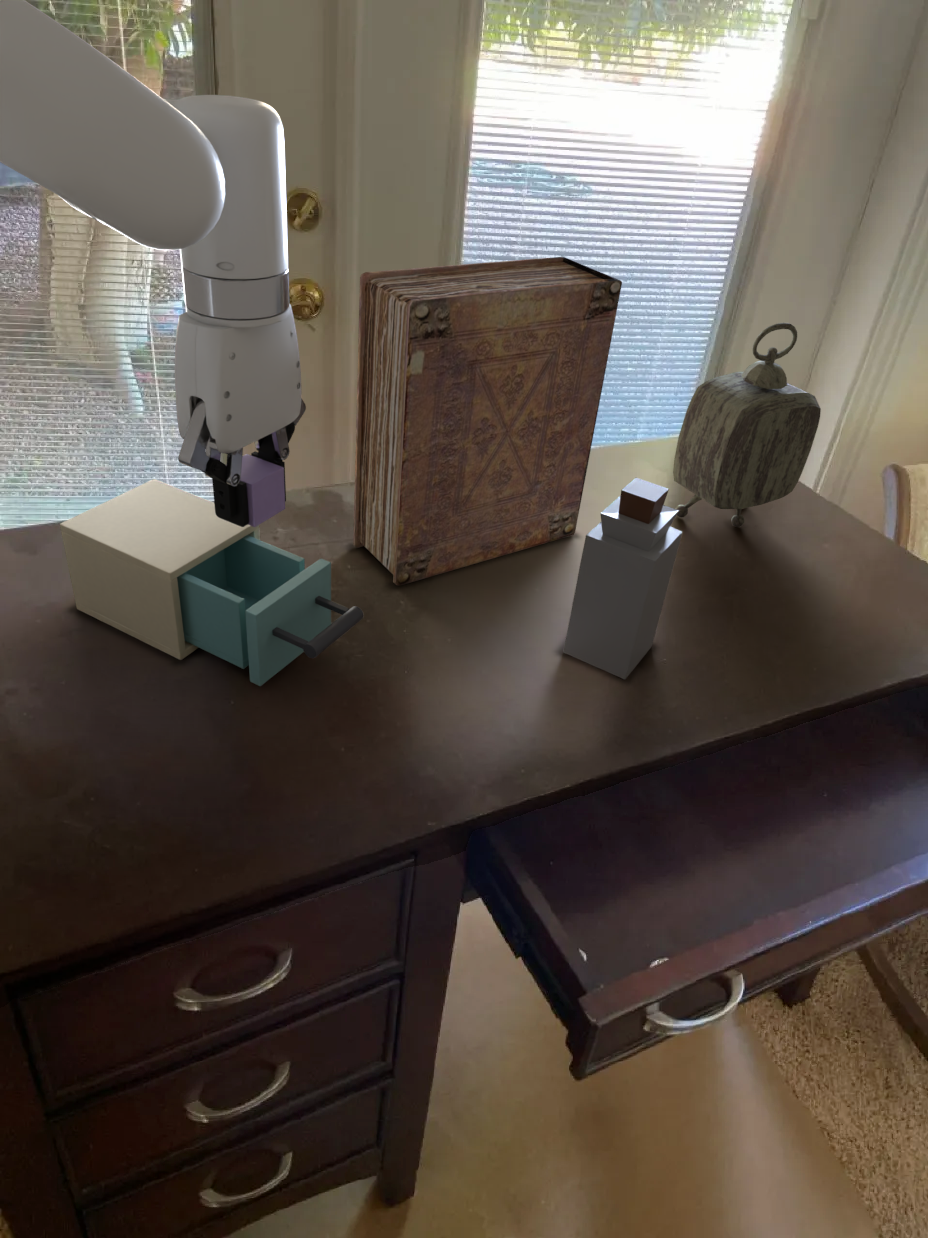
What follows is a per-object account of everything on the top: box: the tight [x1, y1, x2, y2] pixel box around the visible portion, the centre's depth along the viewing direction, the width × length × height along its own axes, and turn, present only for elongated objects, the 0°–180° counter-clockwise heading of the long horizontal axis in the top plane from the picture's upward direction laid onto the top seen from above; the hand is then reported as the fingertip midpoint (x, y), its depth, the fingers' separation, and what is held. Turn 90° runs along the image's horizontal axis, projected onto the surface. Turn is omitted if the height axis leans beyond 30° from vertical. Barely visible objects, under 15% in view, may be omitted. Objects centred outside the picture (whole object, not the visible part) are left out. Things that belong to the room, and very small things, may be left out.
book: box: [352, 256, 623, 586], centre depth 95 cm, size 25×9×30 cm, turn 124°
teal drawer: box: [177, 535, 364, 687], centre depth 81 cm, size 17×10×8 cm, turn 60°
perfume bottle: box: [562, 477, 684, 680], centre depth 84 cm, size 7×7×18 cm
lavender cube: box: [225, 453, 286, 527], centre depth 75 cm, size 4×4×4 cm
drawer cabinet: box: [59, 478, 261, 661], centre depth 86 cm, size 14×12×10 cm
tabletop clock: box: [672, 322, 822, 528], centre depth 107 cm, size 14×9×25 cm, turn 122°
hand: (251, 507), depth 76 cm, fingers closed on lavender cube, 4 cm apart
